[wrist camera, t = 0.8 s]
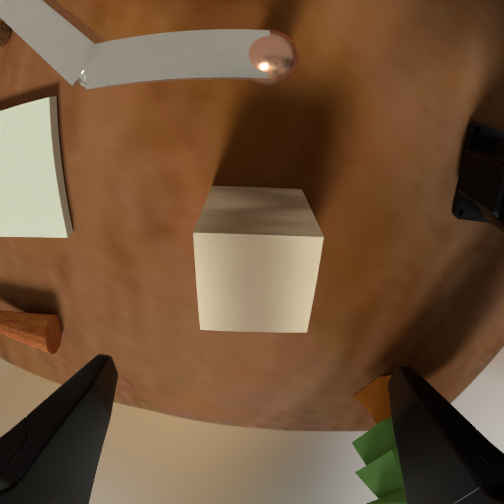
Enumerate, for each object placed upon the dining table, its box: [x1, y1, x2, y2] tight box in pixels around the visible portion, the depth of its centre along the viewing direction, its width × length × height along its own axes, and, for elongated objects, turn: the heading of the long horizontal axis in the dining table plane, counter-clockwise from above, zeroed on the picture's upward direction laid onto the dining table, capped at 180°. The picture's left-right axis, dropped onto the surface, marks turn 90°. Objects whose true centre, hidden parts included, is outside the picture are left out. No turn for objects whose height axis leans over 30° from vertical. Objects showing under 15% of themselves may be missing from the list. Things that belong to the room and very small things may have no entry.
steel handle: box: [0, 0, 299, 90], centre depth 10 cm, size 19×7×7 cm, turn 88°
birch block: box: [193, 186, 324, 332], centre depth 16 cm, size 5×5×6 cm
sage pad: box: [0, 96, 73, 238], centre depth 16 cm, size 10×9×1 cm
